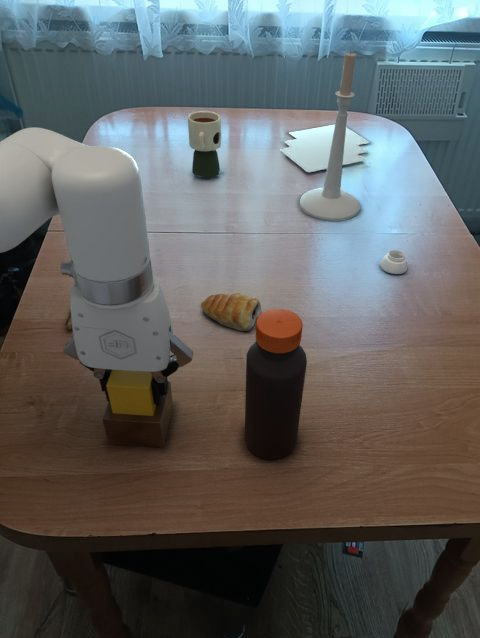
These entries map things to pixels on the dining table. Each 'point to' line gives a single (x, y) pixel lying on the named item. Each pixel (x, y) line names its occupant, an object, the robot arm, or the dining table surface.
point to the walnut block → (139, 425)
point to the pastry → (233, 310)
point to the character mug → (205, 142)
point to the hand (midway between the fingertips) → (136, 393)
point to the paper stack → (321, 147)
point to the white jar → (394, 262)
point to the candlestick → (335, 162)
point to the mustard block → (131, 392)
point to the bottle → (274, 384)
